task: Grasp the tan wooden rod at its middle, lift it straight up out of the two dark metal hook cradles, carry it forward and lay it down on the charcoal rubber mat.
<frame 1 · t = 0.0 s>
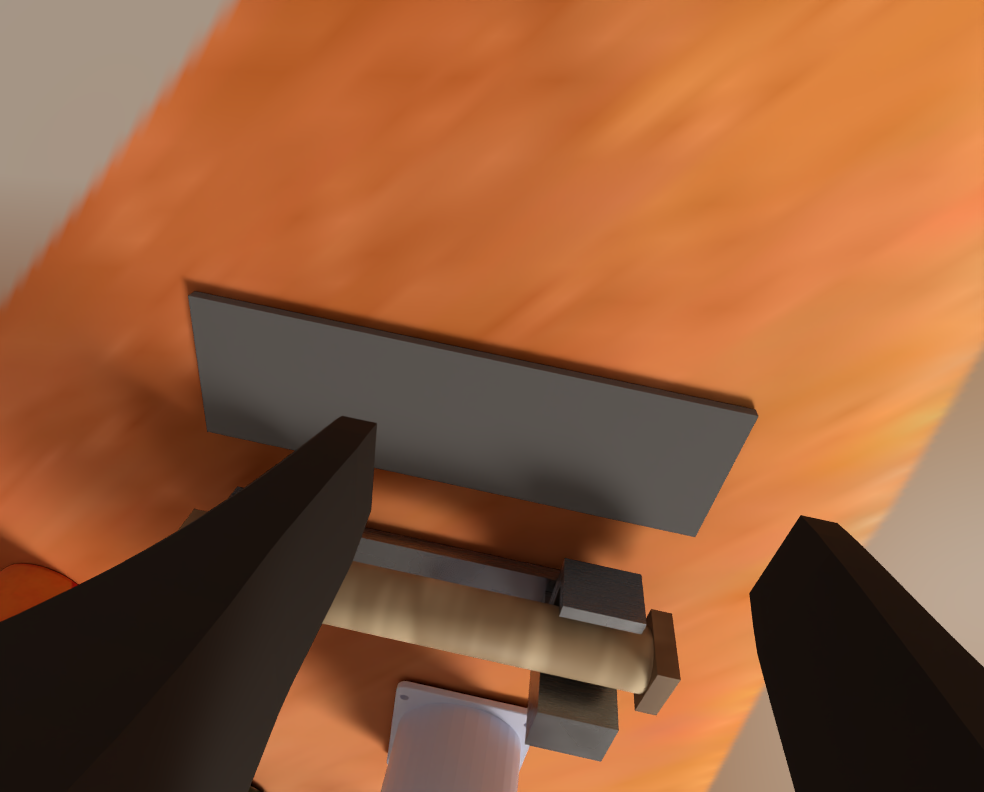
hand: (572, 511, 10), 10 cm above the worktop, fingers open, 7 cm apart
paper cup: (53, 593, 32), on the worktop
mat: (460, 418, 22), on the worktop
tan wooden rod: (427, 581, 23), point 3 cm above the worktop, touching hook standards
hook standards: (434, 573, 27), on the worktop
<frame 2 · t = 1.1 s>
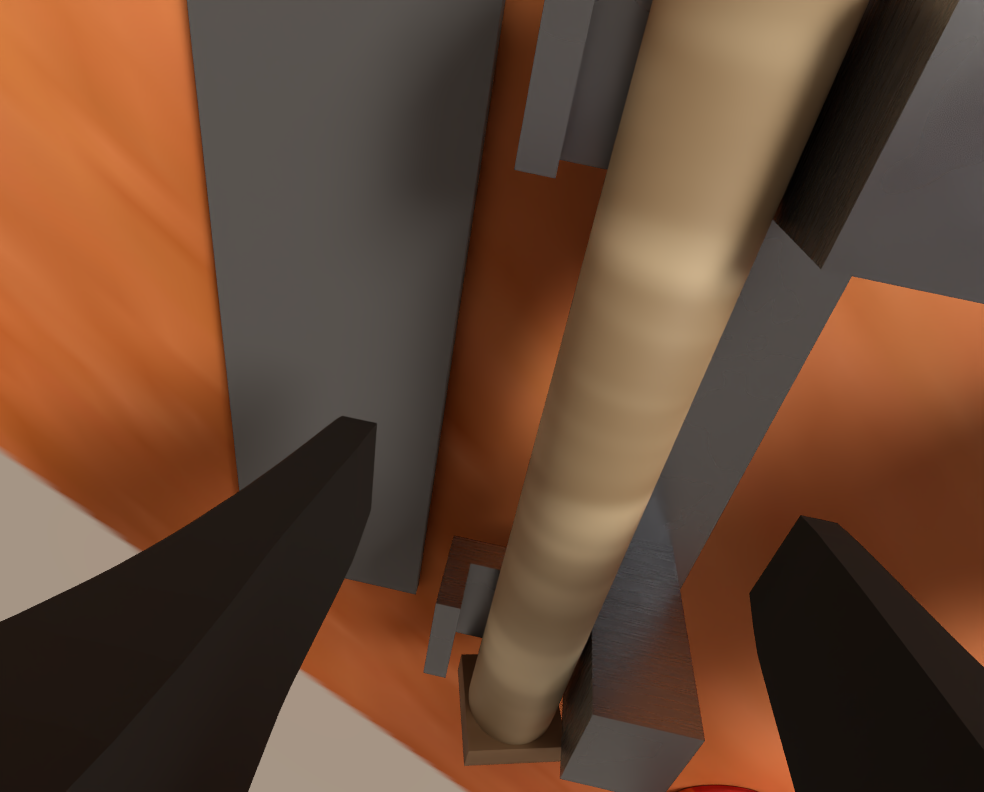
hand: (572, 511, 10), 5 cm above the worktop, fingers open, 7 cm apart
mat: (340, 307, 15), on the worktop
tan wooden rod: (578, 421, 12), point 3 cm above the worktop, tilted 14°, touching hook standards
hook standards: (690, 383, 14), on the worktop
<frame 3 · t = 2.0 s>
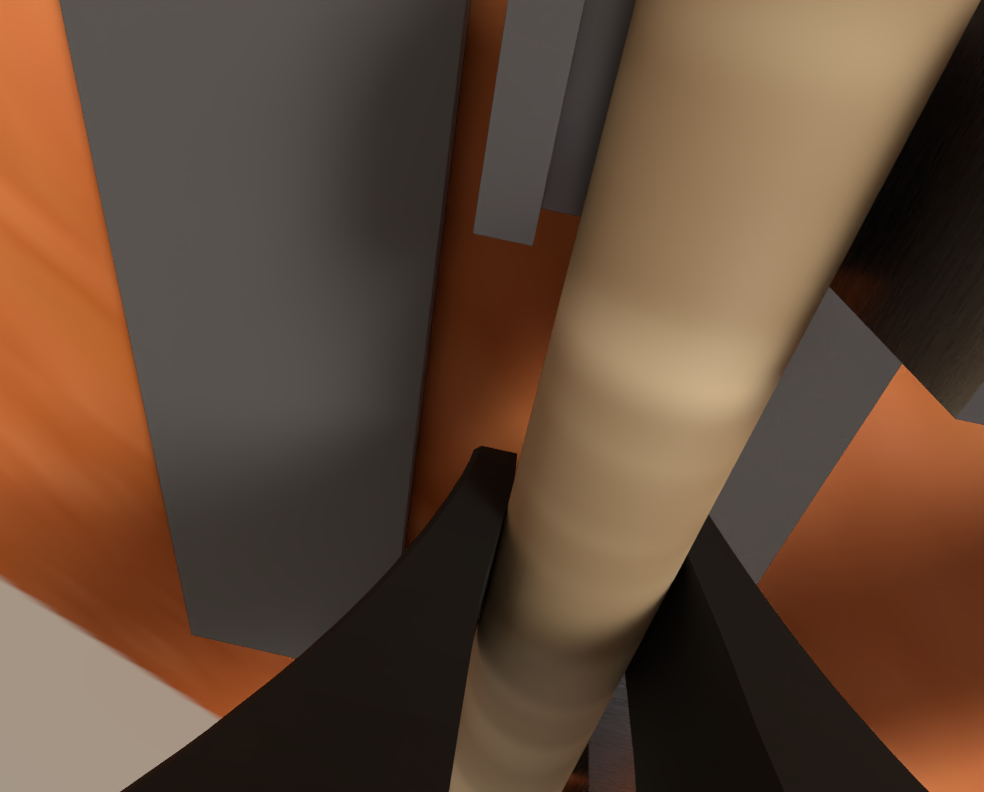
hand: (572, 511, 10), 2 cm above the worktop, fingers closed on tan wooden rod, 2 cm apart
mat: (282, 367, 12), on the worktop
tan wooden rod: (571, 524, 10), point 3 cm above the worktop, touching gripper, hook standards
hook standards: (706, 458, 12), on the worktop
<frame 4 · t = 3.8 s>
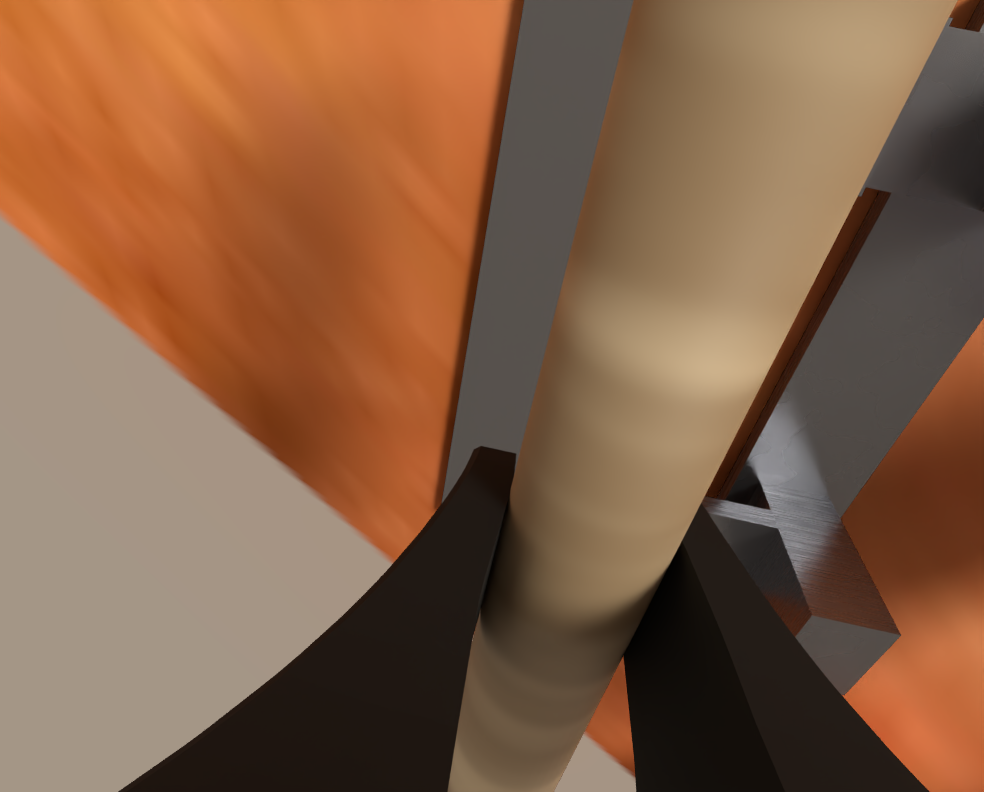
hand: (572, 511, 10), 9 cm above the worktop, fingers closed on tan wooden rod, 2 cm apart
mat: (574, 296, 18), on the worktop
tan wooden rod: (565, 508, 10), point 9 cm above the worktop, tilted 6°, touching gripper
hook standards: (863, 357, 18), on the worktop
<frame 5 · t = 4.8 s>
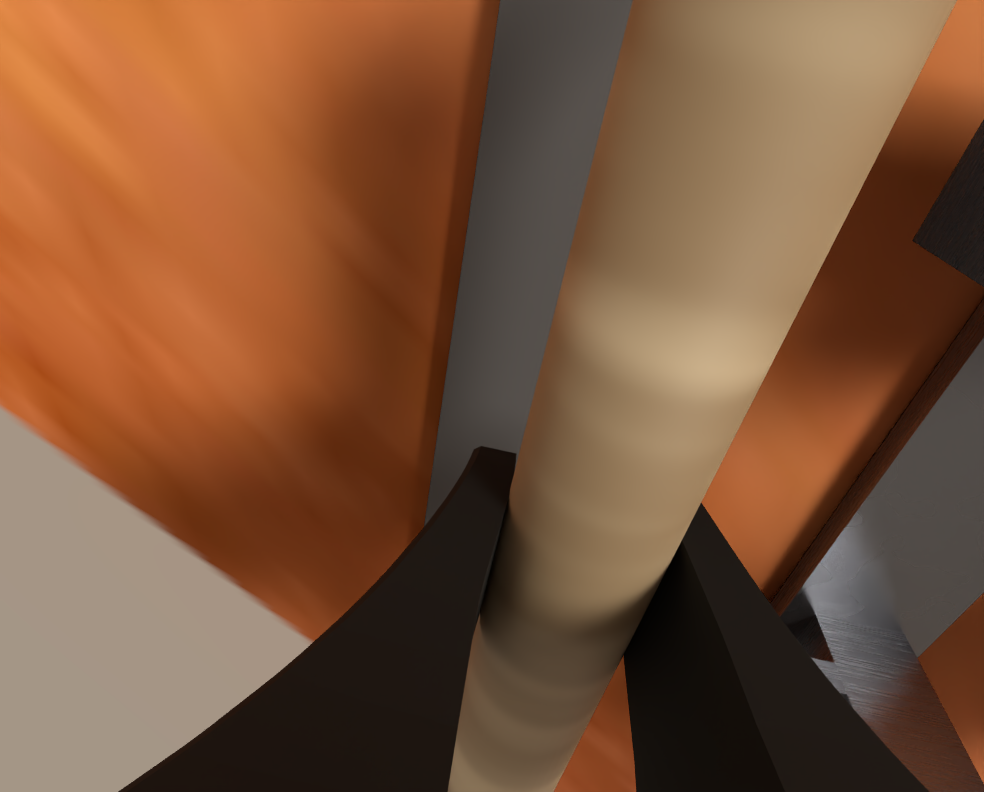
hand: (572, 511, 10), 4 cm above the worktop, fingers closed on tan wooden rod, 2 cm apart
mat: (576, 387, 13), on the worktop
tan wooden rod: (565, 508, 10), point 4 cm above the worktop, tilted 6°, touching gripper
hook standards: (963, 470, 13), on the worktop
when the fingers open (2 cm above the worktop, at t = 5.5 s): tan wooden rod drops 1 cm, resting on mat.
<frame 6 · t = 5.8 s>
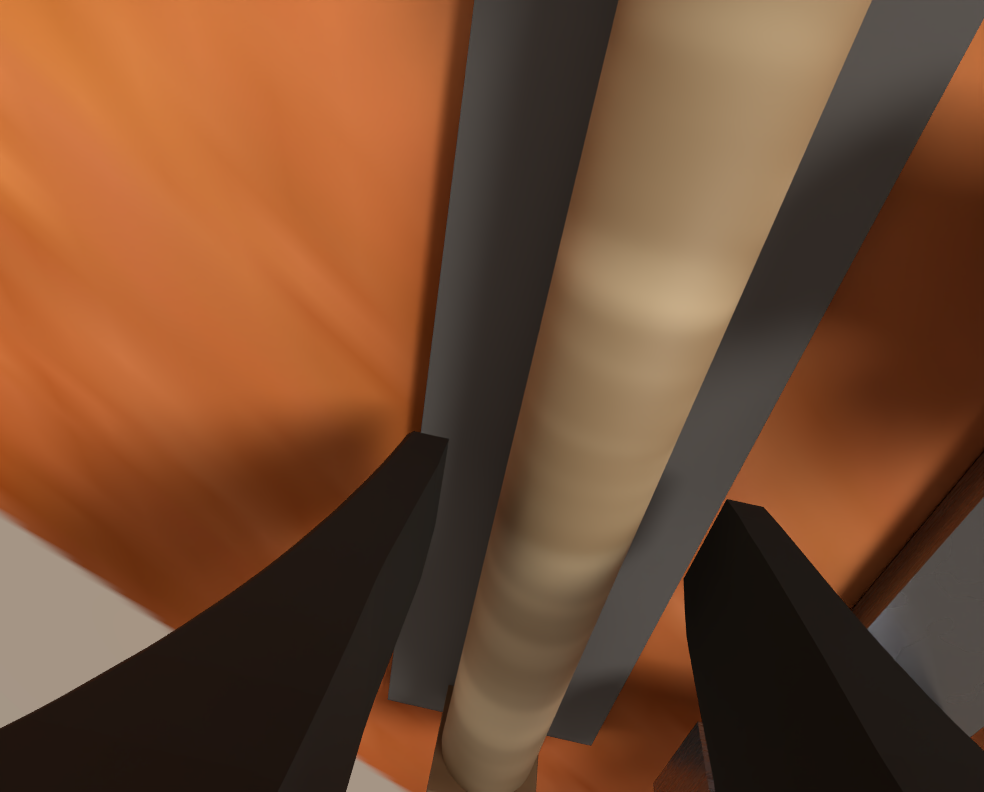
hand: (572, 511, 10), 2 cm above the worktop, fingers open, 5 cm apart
mat: (573, 447, 11), on the worktop
tan wooden rod: (570, 457, 11), resting on mat
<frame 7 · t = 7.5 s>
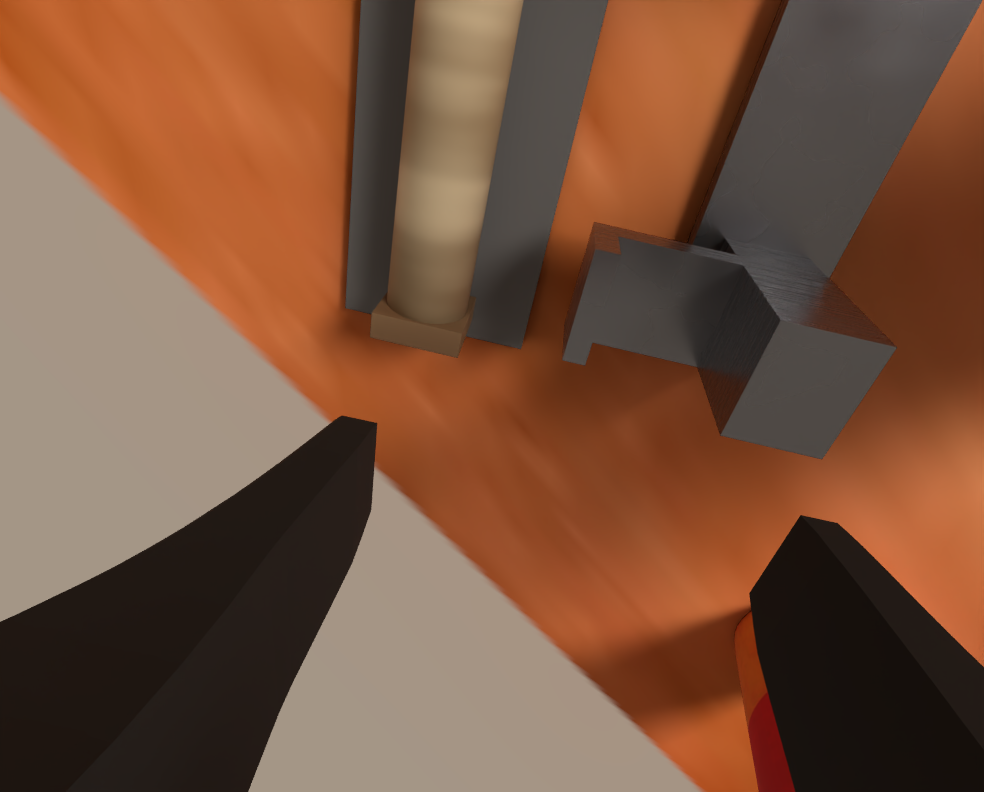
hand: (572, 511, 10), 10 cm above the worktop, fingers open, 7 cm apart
paper cup: (797, 631, 26), on the worktop
hook standards: (853, 41, 14), on the worktop
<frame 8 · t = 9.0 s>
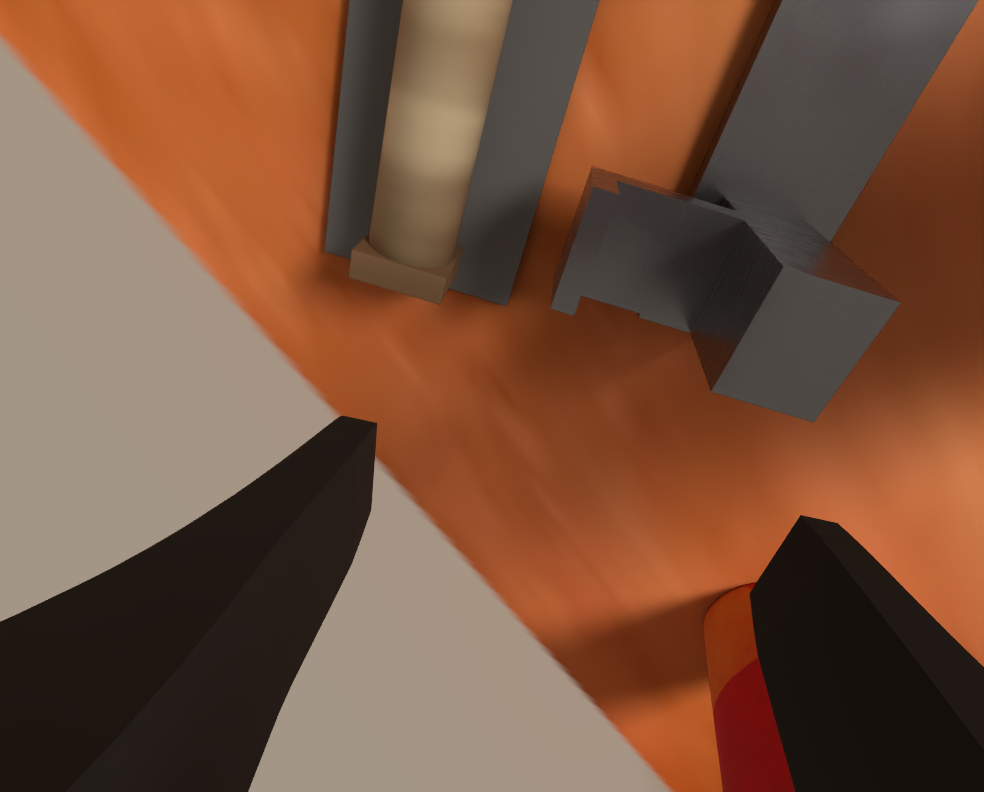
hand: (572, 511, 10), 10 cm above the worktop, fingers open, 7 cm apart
paper cup: (767, 618, 25), on the worktop
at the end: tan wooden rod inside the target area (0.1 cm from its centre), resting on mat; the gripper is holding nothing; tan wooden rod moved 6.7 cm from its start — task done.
